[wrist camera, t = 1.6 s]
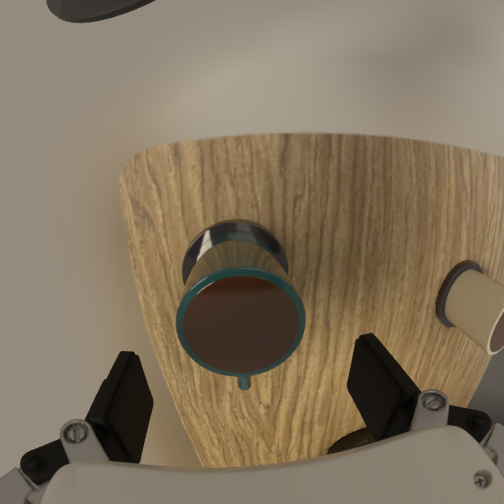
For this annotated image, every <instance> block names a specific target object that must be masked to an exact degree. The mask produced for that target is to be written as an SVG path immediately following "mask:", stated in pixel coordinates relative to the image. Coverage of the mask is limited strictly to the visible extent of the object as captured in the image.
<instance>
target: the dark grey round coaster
mask: <svg viewBox="0 0 504 504" xmlns="http://www.w3.org/2000/svg"><path fill="white" fill-rule="evenodd" d="M469 269H475V270H477V271H479V272H481V273H482V274H483V272H482V269H481V267H480V266H479V265H478V264H477V263H475V262H473V261H463V262H461V263H459V264H458V265H457V266H455V267H454V268H453V269H452V271H451V272H450V273H449V274H448V276H447V277H446V279H445V280H444V282H443V284H442V286H441V289H440V291H439V294H438V298H437V302H436V314H437V318H438V320H439V321H440V322H441V323H442V324H443V325H445V326H447V327H455V326H454V325H453V324H452V323H451V322H449V321H448V320H447V318H446V316H445V303H446V299H447V296H448V293H449V291H450V289H451V287H452V285H453V283H454V282H455V281H456V279H457V278H458V277H459V276H460V275H461V274H462V273H463V272H465V271H466V270H469Z"/></svg>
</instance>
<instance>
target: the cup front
mask: <svg viewBox="0 0 504 504" xmlns="http://www.w3.org/2000/svg"><path fill="white" fill-rule="evenodd" d="M305 323H306V318H305V310H304V306H303V303H302V300H301V298H300V297H299V295H298V293H297V291H296V289H295V288H294V286H293V284H292V282H291V281H290V279H289V277H288V275H287V274H286V272H285V270H284V268H283V267H282V265H281V263H280V261H279V260H278V258H277V256H276V255H275V253H274V251H273V250H272V248H271V247H270V246H269V245H268V244H267V243H266V242H265V241H263V240H262V239H260V238H259V237H257V236H255V235H252V234H249V233H246V232H226V233H223V234H220V235H217V236H215V237H213V238H211V239H210V240H208V241H207V242H206V243H205V244H204V245H203V246H202V247H201V248H200V249H199V251H198V252H197V254H196V255H195V258H194V260H193V263H192V266H191V269H190V272H189V275H188V278H187V281H186V284H185V288H184V291H183V294H182V297H181V300H180V304H179V307H178V310H177V315H176V330H177V334H178V338H179V340H180V343H181V345H182V347H183V348H184V350H185V351H186V353H187V354H188V355H189V356H190V357H191V358H192V359H193V360H194V361H195V362H196V363H198V364H199V365H201V366H202V367H204V368H206V369H207V370H210V371H212V372H215V373H218V374H221V375H226V376H235V377H237V383H238V387H239V388H240V389H241V390H248V389H249V388H250V387H251V376H252V375H257V374H260V373H263V372H266V371H269V370H271V369H273V368H275V367H276V366H278V365H280V364H281V363H282V362H284V361H285V360H286V359H287V358H288V357H289V356H290V355H291V354H292V353H293V352H294V351H295V350H296V348H297V346H298V345H299V343H300V341H301V339H302V337H303V333H304V330H305Z"/></svg>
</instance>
